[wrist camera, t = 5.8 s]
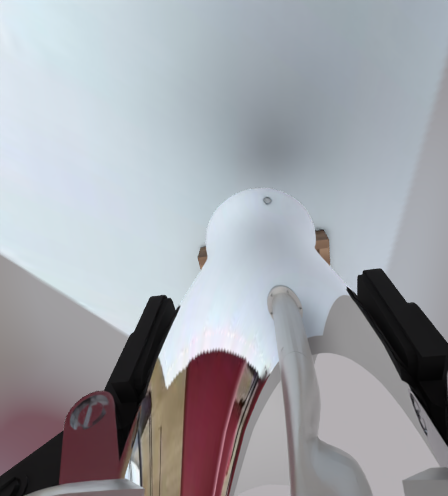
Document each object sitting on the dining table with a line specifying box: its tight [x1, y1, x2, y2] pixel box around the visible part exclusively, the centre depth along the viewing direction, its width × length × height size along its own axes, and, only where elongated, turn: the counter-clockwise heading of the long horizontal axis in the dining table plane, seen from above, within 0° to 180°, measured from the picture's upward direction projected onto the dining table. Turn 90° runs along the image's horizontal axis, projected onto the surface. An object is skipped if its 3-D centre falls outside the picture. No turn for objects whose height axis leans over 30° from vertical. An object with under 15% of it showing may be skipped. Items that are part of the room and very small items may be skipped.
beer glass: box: [115, 188, 448, 496], centre depth 11 cm, size 7×7×15 cm
